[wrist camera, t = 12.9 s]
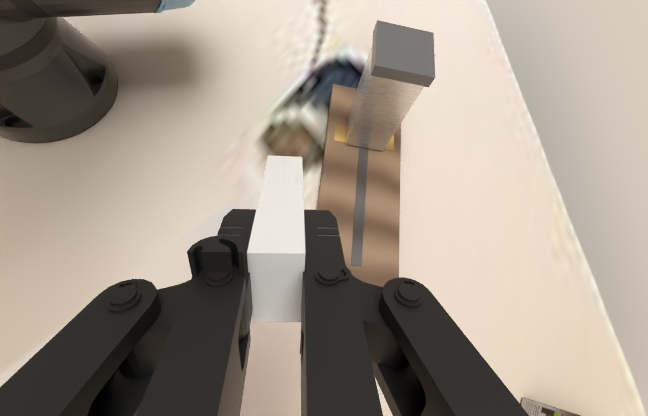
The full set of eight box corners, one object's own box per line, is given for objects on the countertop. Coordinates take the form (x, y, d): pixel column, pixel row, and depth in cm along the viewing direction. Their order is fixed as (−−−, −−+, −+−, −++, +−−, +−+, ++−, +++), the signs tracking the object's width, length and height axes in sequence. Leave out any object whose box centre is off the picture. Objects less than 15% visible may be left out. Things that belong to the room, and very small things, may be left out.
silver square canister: (384, 153, 39) (435, 77, 27) (343, 145, 39) (374, 65, 26) (386, 118, 41) (433, 32, 29) (346, 110, 41) (377, 20, 28)
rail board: (393, 299, 34) (398, 298, 33) (307, 289, 33) (308, 287, 32) (397, 104, 45) (401, 97, 43) (331, 91, 44) (333, 83, 42)
